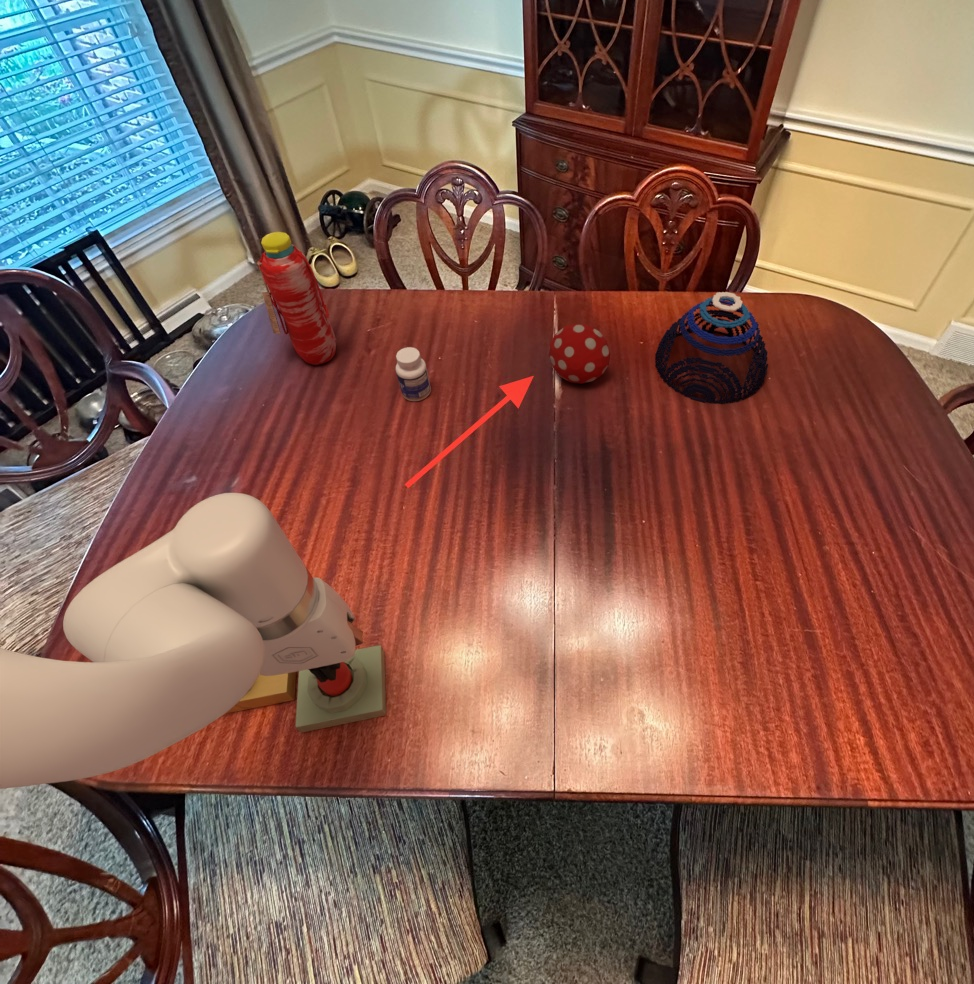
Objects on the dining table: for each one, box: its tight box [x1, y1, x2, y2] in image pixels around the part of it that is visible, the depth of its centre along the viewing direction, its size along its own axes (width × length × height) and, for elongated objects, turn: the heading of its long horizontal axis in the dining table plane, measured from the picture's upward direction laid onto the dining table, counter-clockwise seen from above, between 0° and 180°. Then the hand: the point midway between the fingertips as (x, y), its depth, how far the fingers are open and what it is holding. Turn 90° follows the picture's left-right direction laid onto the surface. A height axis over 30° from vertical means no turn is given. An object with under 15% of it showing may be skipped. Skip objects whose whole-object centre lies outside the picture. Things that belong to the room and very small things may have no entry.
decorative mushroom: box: [548, 323, 611, 385], centre depth 109 cm, size 11×11×15 cm
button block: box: [294, 644, 387, 734], centre depth 73 cm, size 10×8×4 cm
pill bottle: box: [395, 346, 432, 402], centre depth 105 cm, size 5×5×9 cm
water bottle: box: [256, 231, 337, 366], centre depth 105 cm, size 12×8×25 cm, turn 86°
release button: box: [317, 662, 352, 696], centre depth 71 cm, size 4×4×2 cm
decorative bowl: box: [654, 291, 769, 405], centre depth 106 cm, size 20×20×14 cm
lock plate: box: [224, 671, 297, 715], centre depth 74 cm, size 10×8×3 cm
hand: (329, 668), depth 69 cm, fingers closed
